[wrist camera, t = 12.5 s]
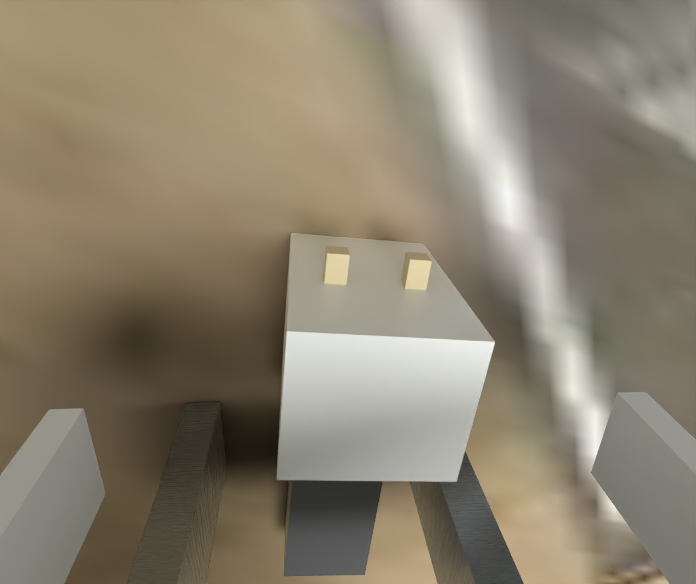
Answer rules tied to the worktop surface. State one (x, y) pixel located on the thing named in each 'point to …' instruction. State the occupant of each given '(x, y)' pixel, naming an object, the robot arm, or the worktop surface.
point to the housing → (205, 494)
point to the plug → (368, 389)
